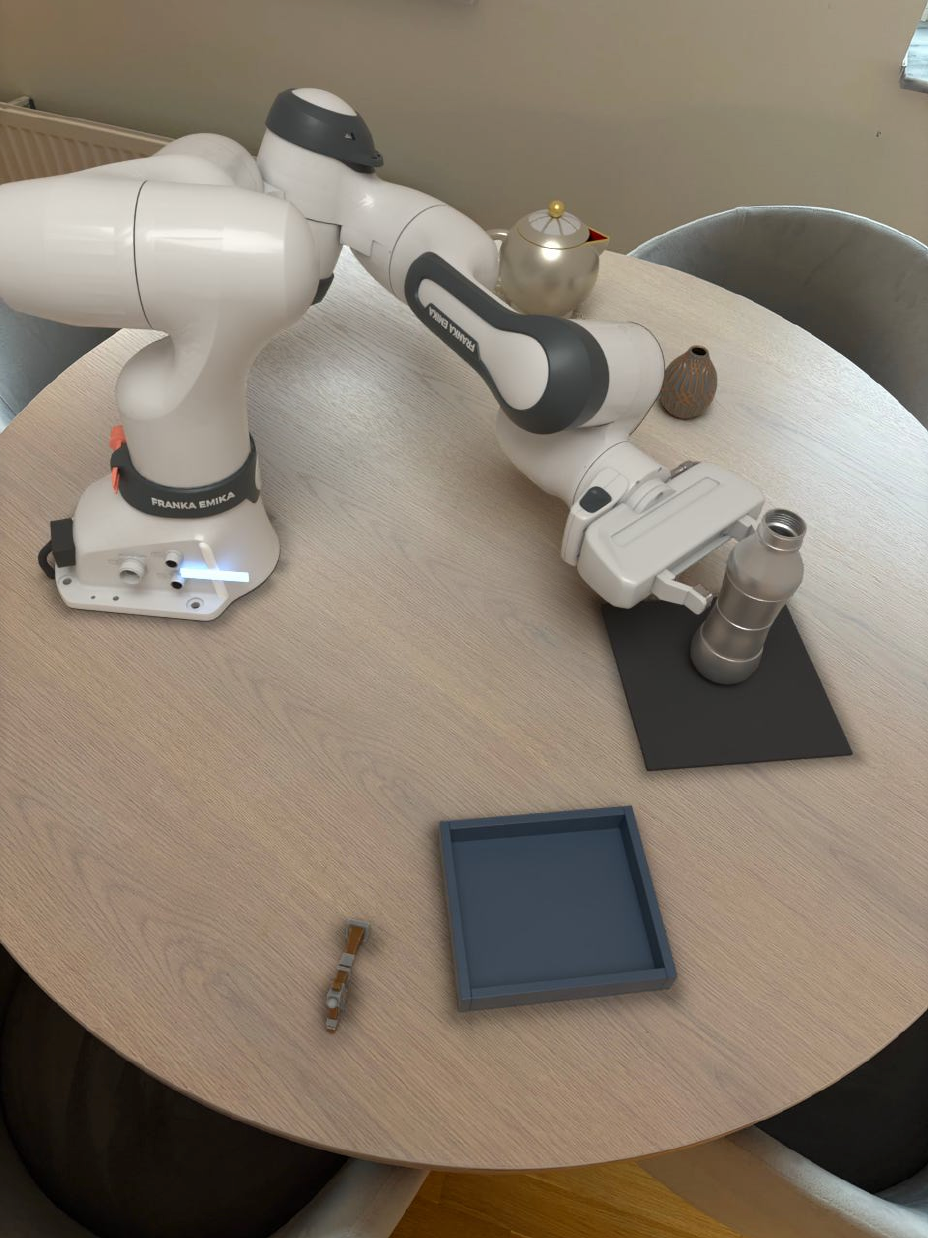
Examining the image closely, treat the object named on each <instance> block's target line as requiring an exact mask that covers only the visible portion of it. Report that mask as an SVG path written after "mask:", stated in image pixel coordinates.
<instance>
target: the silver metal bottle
mask: <svg viewBox="0 0 928 1238" xmlns="http://www.w3.org/2000/svg"><path fill="white" fill-rule="evenodd" d="M758 524H759V525H758V527H757V529H756V533H755V534H753V535H750V536H748V537H746V538H744V539H743V540H741V541H740V542H739V541H738V542H737V543H736V544H735V545H734V546H733V547H732V549H731V550H730V552H729V555H728V558H727V560H726V565H725V569H724V573H723V578H722V583H721V587H720V590H719V592H718V595H717V597H718V598H717V600H716V603H715V605H714V607H713V608H712V610H711V612H710V613H709V615H708V617H707V618H706V620H705V621H704V622H703V623H702V625H701V626H700V627H699V628H698V630H697V631H696V633H695V634H694V636H693V639H692V643H691V650H690V655H691V659H692V662H693V664H694V666H695V667H696V669H697V670H698V671H699V673H700V674H701V675H703V676H704V677H705V678H707V679H709V680H710V681H713V682H715V683H719V684H735V683H739V682H742V681H744V680H746V679H747V678H748V677H749V676H750V675H751V674H752V673H753V672H754V671H755V670H756V668H757V667H758V665H759V662H760V659H761V655H762V651H763V645H764V642H765V639H766V637H767V634H768V631H769V629H770V627H771V625H772V623H773V622H774V620H775V618H776V617H777V615H778V614H779V612H780V610H781V609H782V608H783V606H784V605H785V604H786V605H787V603H788V601H790V599H791V597H793V595H794V594H795V593H796V592H797V590H798V589H799V588H800V587H801V584H802V583H803V580H804V572H805V565H804V560H803V558H802V555H801V553H800V549H801V548H802V545H803V544H804V538H805V537H806V534H807V529H808V525H807V523H806V521H805V520H804V519H803V517H802V516H801V515H799V514H798V513H796V512H794V511H793V510H789V509H786V508H781V507H777V508H776V507H775V508H770V509H769V510H767V511H765V513H764V514H763V515H762V518H761V520H760V522H759V523H758Z"/></svg>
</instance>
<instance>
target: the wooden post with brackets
mask: <svg viewBox="0 0 928 1238" xmlns="http://www.w3.org/2000/svg"><path fill="white" fill-rule="evenodd" d="M346 921H347V922H346V929H345V937H344V939H346V940H347V943H346V948H345V951H344V952H342V956H341V958H340V961H339V962H338V965H337V968H336V974H335V979H334V981H333V980H332V981H331V985H330V988H329V989H328V992H327V994H326V1003H325V1004H326V1005H327V1007H328V1014H327V1017H326V1023H325V1025H326V1029H325V1030H326V1031H325V1032H326V1033H329V1034H330V1033H331V1034H336V1033H335V1032H336V1030H337V1025H338V1022H339V1017H340V1016H339V1015H340V1014H339V1013H340V1012H341V1011H340V1010H342V1011H345V1005H346V1000H347V999H348V994H349V993H348V991H349V990H348V989H347V987H346V983H347V982H348V981H349V980H350V979H351V974H352V970H353V967H354V965H355V960H356V955H357V953H358V952H359V951H358V950H359V948H360V946H361V945H362V943H367V941H368V940H369V935H370V928H371V927H370V926H371V922H367V921H364V920H363V921H362V920H358V919H353V918H349V917H348V918H347V920H346Z"/></svg>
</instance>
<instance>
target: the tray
mask: <svg viewBox="0 0 928 1238" xmlns="http://www.w3.org/2000/svg"><path fill="white" fill-rule="evenodd" d="M437 831H438V832H437V841H438V842H437V843H438V844H437V845H438V852H439V859H440V867H441V877H442V885H443V892H444V901H445V909H446V917H447V926H448V933H449V942H450V943H449V944H450V950H451V958H452V967H453V974H454V976H453V977H454V984H455V993H456V1002H457V1007H458V1008H457V1010H458V1013H467V1012H475V1011H485V1010H492V1009H494V1010H495V1009H502V1008H510V1007H521V1006H529V1005H537V1004H547V1003H548V1004H549V1003H556V1002H557V1003H558V1002H565V1001H575V1000H583V999H593V998H601V997H602V998H603V997H611V996H620V995H627V994H638V993H646V992H656V991H665V990H670V989H671V987H672V985H673V984H674V983H675V982H676V980H677V978H678V973H677V969H676V965H675V961H674V957H673V954H672V950H671V945H670V942H669V937H668V935H667V931H666V927H665V923H664V921H663V916H662V913H661V908H660V904H659V902H658V901H659V900H658V898H657V894H656V890H655V887H654V883H653V879H652V875H651V871H650V868H649V864H648V861H647V857H646V853H645V850H644V845H643V842H642V838H641V834H640V831H639V827H638V824H637V819H636V816H635V812H634V808H633V805H621V806H607V807H597V808H586V809H585V808H584V809H574V810H573V809H572V810H562V811H549V812H548V811H547V812H538V813H537V812H535V813H523V814H512V815H501V816H500V815H499V816H488V817H477V818H465V819H453V820H452V819H451V820H442V821H439V823H438V830H437Z"/></svg>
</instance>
